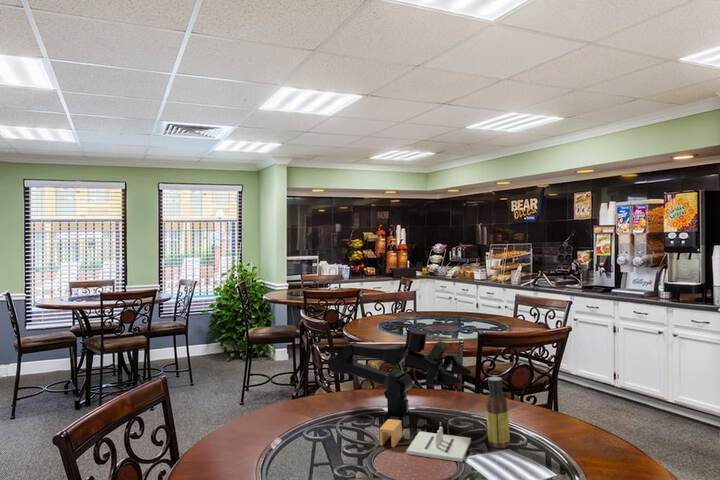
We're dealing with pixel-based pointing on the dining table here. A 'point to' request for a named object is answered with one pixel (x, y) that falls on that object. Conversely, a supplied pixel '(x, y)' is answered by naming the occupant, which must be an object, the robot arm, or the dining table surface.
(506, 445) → the sauce bottle
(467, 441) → the board
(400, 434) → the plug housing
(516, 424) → the dining table surface
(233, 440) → the dining table surface
